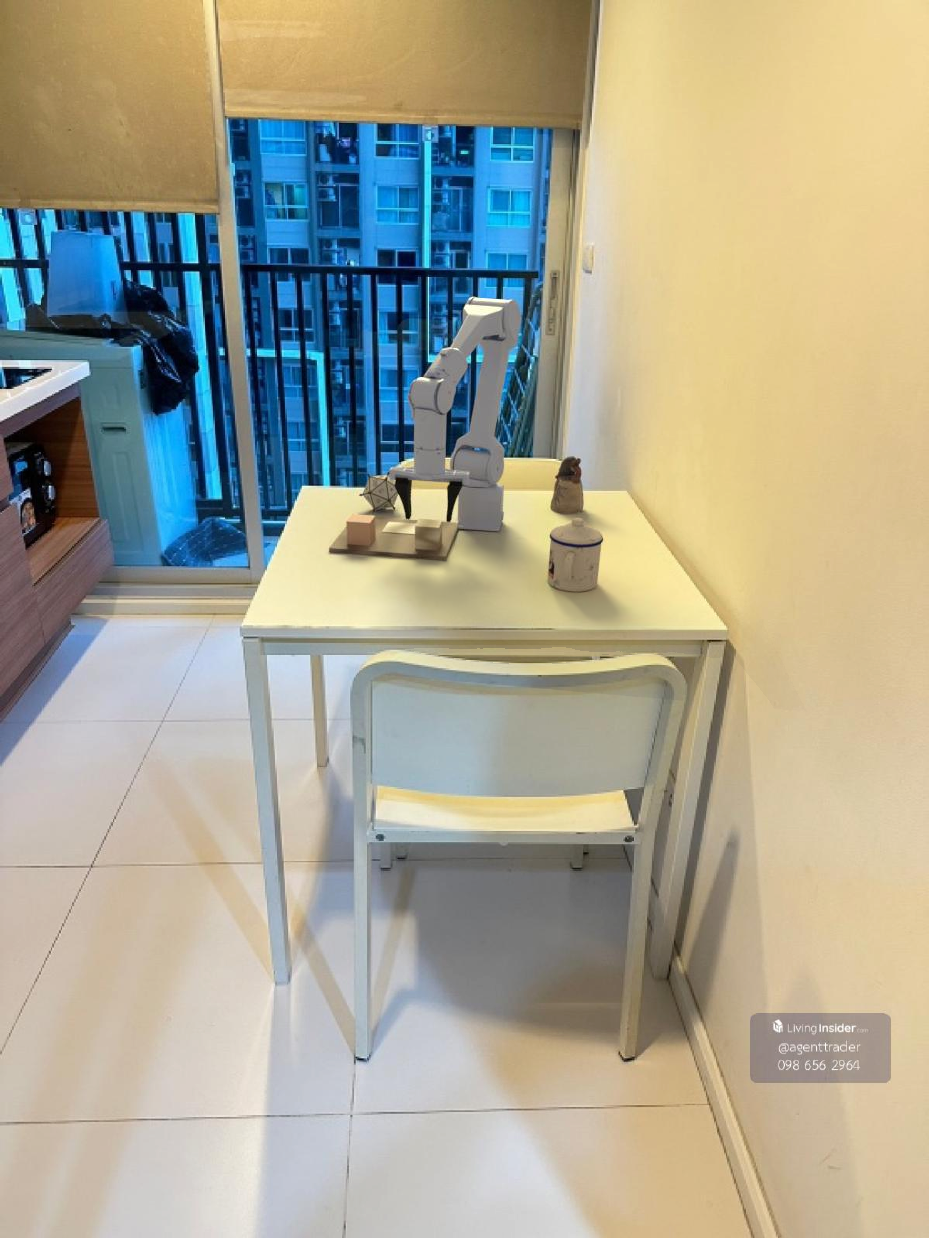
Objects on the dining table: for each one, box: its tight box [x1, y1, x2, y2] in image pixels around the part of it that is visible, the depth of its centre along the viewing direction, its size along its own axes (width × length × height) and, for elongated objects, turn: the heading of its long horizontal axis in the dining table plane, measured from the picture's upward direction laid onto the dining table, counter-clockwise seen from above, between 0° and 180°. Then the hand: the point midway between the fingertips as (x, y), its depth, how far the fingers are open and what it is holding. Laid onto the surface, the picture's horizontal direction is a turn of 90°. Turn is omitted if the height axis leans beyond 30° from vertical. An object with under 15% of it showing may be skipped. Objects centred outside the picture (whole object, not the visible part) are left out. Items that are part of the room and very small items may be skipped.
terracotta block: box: [345, 513, 376, 546], centre depth 158 cm, size 4×4×4 cm
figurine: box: [549, 455, 585, 515], centre depth 182 cm, size 7×7×12 cm
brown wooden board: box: [328, 516, 459, 561], centre depth 163 cm, size 22×20×1 cm
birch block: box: [415, 518, 443, 551], centre depth 157 cm, size 4×4×4 cm
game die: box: [358, 471, 399, 514], centre depth 178 cm, size 9×8×10 cm
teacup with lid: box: [547, 517, 604, 593], centre depth 141 cm, size 12×9×12 cm
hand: (428, 519), depth 155 cm, fingers open, 7 cm apart
